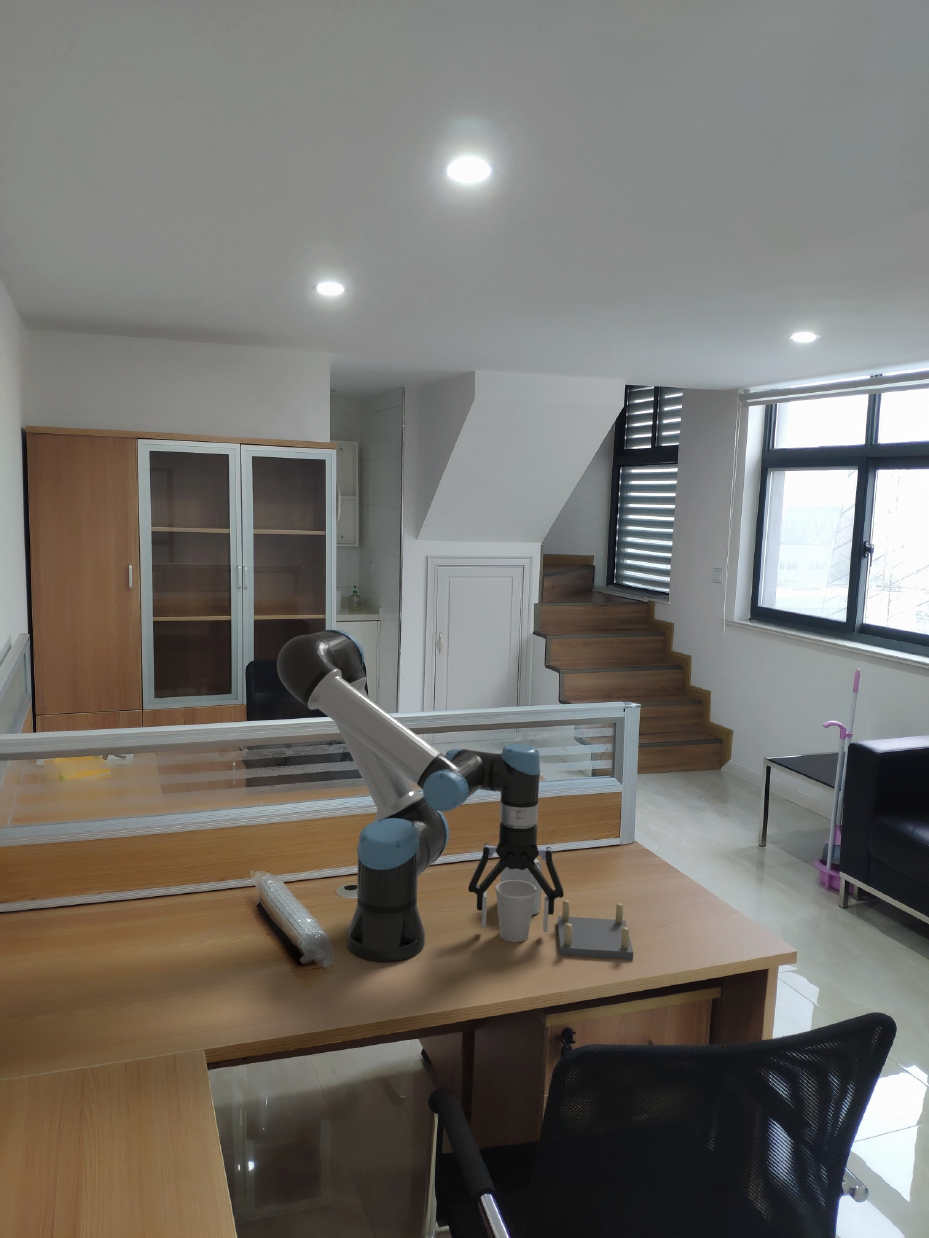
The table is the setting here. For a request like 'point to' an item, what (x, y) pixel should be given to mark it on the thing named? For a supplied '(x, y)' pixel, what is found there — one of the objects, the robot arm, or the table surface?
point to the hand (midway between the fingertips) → (514, 927)
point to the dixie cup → (515, 909)
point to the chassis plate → (594, 935)
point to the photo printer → (527, 877)
